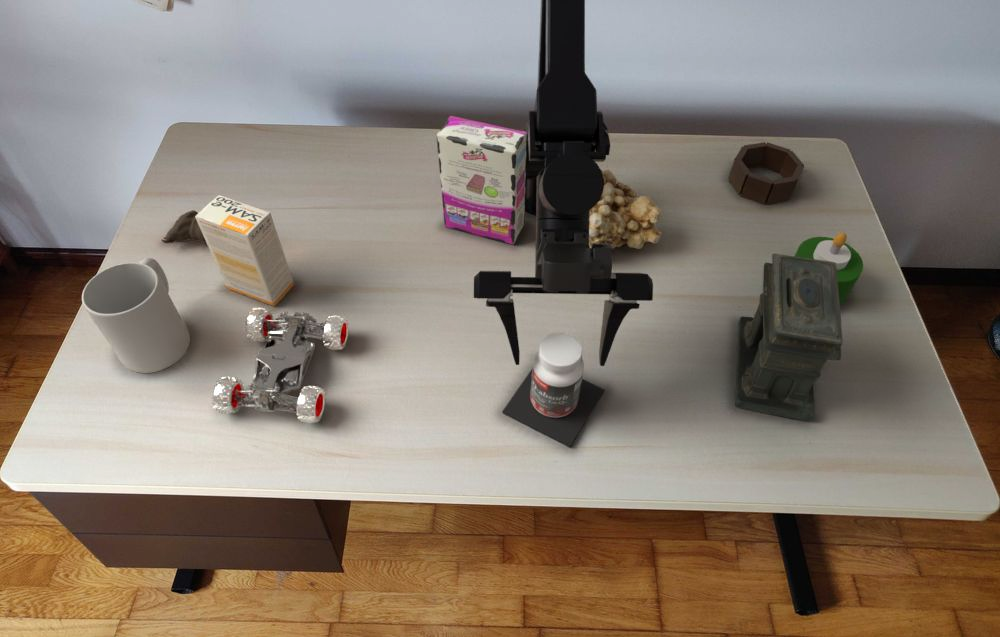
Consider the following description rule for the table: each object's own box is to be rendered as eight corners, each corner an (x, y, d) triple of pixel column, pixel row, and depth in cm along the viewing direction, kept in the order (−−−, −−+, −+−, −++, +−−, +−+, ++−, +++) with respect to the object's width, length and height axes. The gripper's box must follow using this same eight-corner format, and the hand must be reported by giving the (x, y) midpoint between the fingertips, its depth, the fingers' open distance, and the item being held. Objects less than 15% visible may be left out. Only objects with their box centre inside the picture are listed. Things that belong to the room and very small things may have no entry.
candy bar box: (525, 223, 103) (529, 130, 90) (514, 246, 100) (516, 153, 87) (455, 205, 105) (450, 112, 93) (442, 227, 103) (434, 134, 90)
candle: (771, 282, 96) (795, 228, 88) (808, 256, 99) (835, 202, 91) (822, 319, 92) (852, 266, 84) (859, 291, 95) (891, 237, 87)
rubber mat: (502, 413, 82) (502, 411, 82) (538, 360, 87) (539, 358, 87) (570, 448, 79) (570, 446, 79) (604, 391, 84) (604, 389, 84)
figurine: (162, 252, 100) (238, 258, 98) (146, 230, 96) (226, 235, 94) (181, 221, 104) (256, 226, 102) (168, 198, 100) (244, 203, 98)
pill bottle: (523, 410, 82) (526, 360, 74) (538, 373, 85) (543, 322, 78) (570, 425, 80) (578, 376, 73) (583, 387, 84) (593, 336, 76)
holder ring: (721, 189, 108) (728, 169, 105) (741, 156, 114) (748, 135, 111) (783, 211, 105) (792, 191, 102) (801, 176, 111) (810, 155, 108)
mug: (178, 374, 85) (144, 317, 77) (109, 373, 85) (67, 315, 77) (207, 301, 93) (178, 241, 85) (143, 300, 93) (108, 240, 85)
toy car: (318, 431, 80) (309, 407, 76) (218, 419, 81) (204, 395, 77) (352, 330, 90) (345, 304, 86) (262, 321, 91) (251, 295, 87)
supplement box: (296, 284, 95) (273, 211, 85) (274, 308, 92) (248, 235, 82) (247, 265, 97) (219, 192, 87) (224, 288, 94) (192, 215, 84)
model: (733, 322, 91) (768, 239, 80) (805, 334, 90) (851, 251, 78) (734, 410, 83) (773, 331, 71) (813, 424, 81) (866, 345, 70)
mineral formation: (575, 270, 97) (545, 196, 105) (660, 264, 101) (624, 193, 109) (592, 229, 91) (558, 154, 99) (682, 224, 95) (641, 153, 103)
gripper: (472, 215, 66) (470, 377, 68) (667, 217, 66) (662, 379, 68) (476, 220, 77) (475, 359, 79) (644, 222, 77) (639, 361, 79)
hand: (559, 365), depth 76 cm, fingers open, 9 cm apart
